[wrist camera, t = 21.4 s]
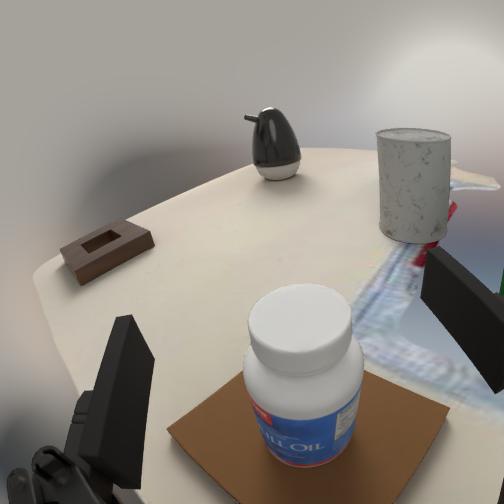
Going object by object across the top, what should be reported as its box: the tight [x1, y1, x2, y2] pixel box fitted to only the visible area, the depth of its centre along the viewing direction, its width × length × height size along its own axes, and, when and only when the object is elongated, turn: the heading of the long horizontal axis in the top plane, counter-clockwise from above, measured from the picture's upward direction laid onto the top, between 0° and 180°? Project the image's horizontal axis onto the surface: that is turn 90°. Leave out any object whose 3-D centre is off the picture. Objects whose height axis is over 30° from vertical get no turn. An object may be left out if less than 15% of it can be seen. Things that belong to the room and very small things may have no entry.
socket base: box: [60, 218, 155, 286], centre depth 47 cm, size 13×13×2 cm
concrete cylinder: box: [376, 128, 451, 244], centre depth 35 cm, size 10×10×12 cm
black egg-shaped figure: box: [244, 108, 301, 180], centre depth 63 cm, size 10×10×15 cm
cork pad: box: [167, 370, 450, 504], centre depth 17 cm, size 14×12×1 cm
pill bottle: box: [243, 284, 364, 468], centre depth 14 cm, size 6×5×10 cm
